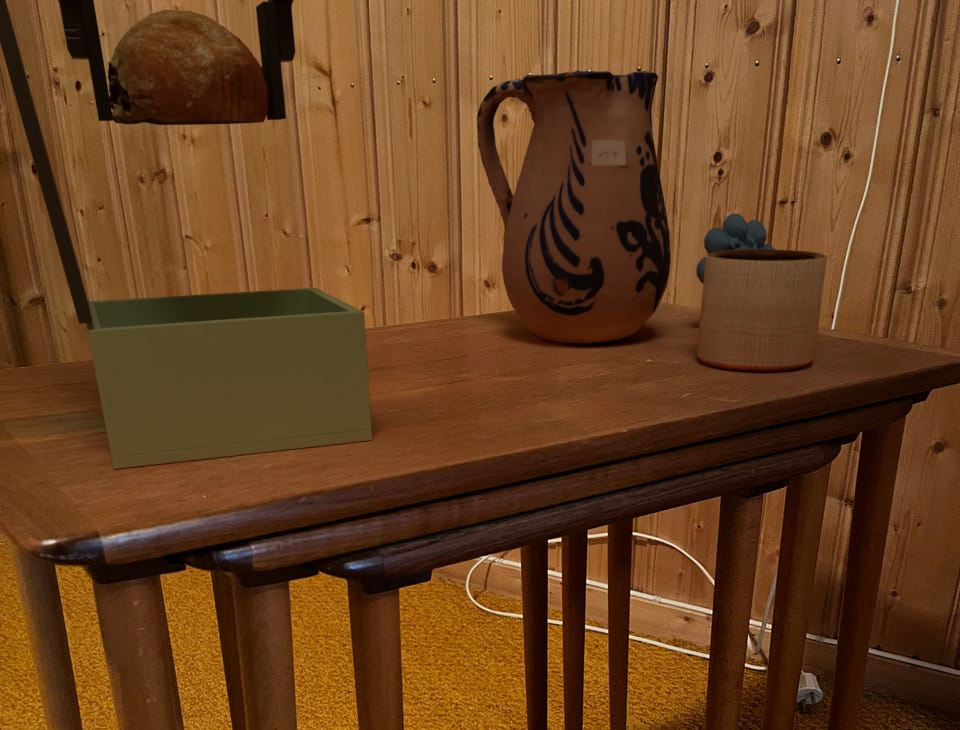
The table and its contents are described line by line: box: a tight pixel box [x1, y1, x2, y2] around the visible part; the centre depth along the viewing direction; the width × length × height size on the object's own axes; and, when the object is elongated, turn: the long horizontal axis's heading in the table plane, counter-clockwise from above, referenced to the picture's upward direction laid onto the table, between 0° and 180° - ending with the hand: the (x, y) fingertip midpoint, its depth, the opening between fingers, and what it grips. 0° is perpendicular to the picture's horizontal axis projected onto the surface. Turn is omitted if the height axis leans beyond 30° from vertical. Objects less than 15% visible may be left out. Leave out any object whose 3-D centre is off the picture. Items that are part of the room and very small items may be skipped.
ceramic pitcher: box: [476, 70, 672, 345], centre depth 101 cm, size 18×21×25 cm
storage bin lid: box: [0, 0, 92, 325], centre depth 62 cm, size 18×15×1 cm
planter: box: [696, 249, 828, 373], centre depth 91 cm, size 11×11×10 cm
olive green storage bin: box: [85, 287, 373, 470], centre depth 71 cm, size 18×15×9 cm
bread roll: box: [107, 9, 270, 126], centre depth 62 cm, size 10×10×8 cm
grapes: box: [696, 212, 776, 285], centre depth 108 cm, size 12×7×12 cm, turn 120°
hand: (193, 119), depth 64 cm, fingers closed on bread roll, 10 cm apart
